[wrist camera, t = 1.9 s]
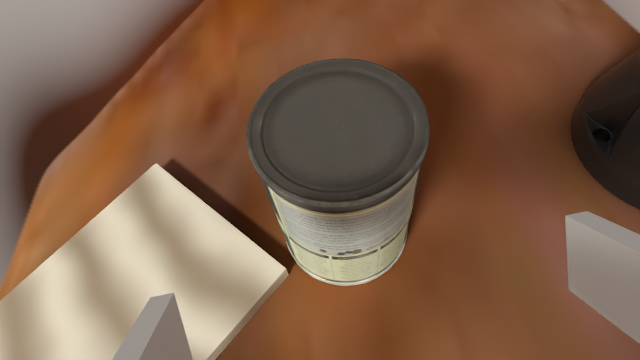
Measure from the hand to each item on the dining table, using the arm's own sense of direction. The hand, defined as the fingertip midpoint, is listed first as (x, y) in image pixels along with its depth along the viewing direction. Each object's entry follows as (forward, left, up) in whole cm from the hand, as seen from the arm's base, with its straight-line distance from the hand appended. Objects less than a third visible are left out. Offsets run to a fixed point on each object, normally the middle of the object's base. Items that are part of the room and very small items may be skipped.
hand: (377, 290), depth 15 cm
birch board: (+8, -17, -19) cm, 27 cm away
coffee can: (-8, -8, -20) cm, 22 cm away
